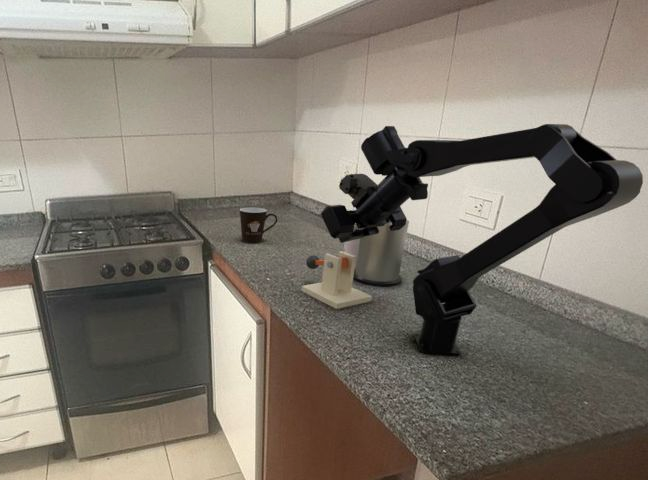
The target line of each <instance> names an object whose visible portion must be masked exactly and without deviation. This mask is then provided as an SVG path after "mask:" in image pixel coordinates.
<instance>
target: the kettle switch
mask: <svg viewBox="0 0 648 480" xmlns="http://www.w3.org/2000/svg"><path fill="white" fill-rule="evenodd" d="M339 258H342V263H341V269H345V268H348V259H347V257H339ZM305 264H306V266H307V268H308V269H311V270H315V269H318V268H319V266H324V259H320V258H319V256H317V255H314V254H313V255H310V256H308V257H307V258H306V262H305Z"/></svg>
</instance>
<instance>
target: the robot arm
mask: <svg viewBox="0 0 648 480" xmlns="http://www.w3.org/2000/svg"><path fill="white" fill-rule="evenodd" d="M360 149H361V151H362V153H363V156H364V157H365V160H366V161H367V163H368V164H369V165H368V166H369V167H370V168H371V170H372V172H373V174H374V175H381V176H382V177H384V178H383V179H382V180H381V181H380V182H379V183H378V184H377V183H376V182H375V181H374V180H373V179H371V177H369V176H368V175H367V174H366V173H365V174H364V173H349V174H346V175H344V177H342V178H341V179H340V181H339V185H338V188H339V190H340V191H341V192H343V193H344V195H348V196H349V197H350V198H351V199H352V201H351V202H350V203H351V205H352V207H353V208H355V210H354V209H349V210H348V209H347V207H346V206H345V205H343V204H333V205H326V206H325V207H324V208H323V209H322V210H321V212H320V216H321V218H322V220H323V222H324V225H325V227H326V230H327V231H328V233H329V235H330V237H331V238H333V239H338V241H339V243H340V244H344V242H348V241H352V240H355V239H359V238H363V237H367V236H370V235H374V234H378V233H379V230H378V228H377V227H379V226H384V225H385V224H386V223H388V222H389V219H390V221H391V223H392V225H391V226H390V227H389V229H390V231H395V230H400V229H401V228H402V227H404V226H405V225H406V220H408V219H407V216H406V214H405V212H404V210H403V209H402V207H401V206H402V205H403V204H404V203H405V202H407V201H408V200H409V199H410V200H411V201H420V200H427V199H428V196H429V191H428V187H429V184H428V183H424V182H423V181H422V179H421V178H426V177H427V178H428V177H440V176H444V175H446V174H450V173H453V172H457V171H459V170H461V169H463V168H466V167H470V166H473V165H474V166H475V165H482V164H483V165H484V164H491V163H499V162H507V161H508V162H509V161H516V160H517V161H518V160H526V159H533V158H535V159H536V160H537V161H538V162H539V163H540V165H541V167H542V168H543V170H544V172H545V174H546V176H547V177H548V179H549V180H550V181H552V183H554V185H553V186H552V187H551V188H550V189H549V190H548V192H547V193H546V194H545V196H544V197H543V199H542V200H541V201H540V203H539V204H538V205H537V206H536V207H535V208H533V209H532V210H530V211H529V212H527V213H526V214H524V215H522V216H521V217H519V218H517V219H516V220H515V221H514V222H512V223H510V224H509V225H507V226H505V227H504V228H502V229H501V230H500V231H498V232H497V233H495V234H493V235H492V236H491V237H489V238H487V239H486V240H485V241H483V242H482V243H480V244H478V245H477V246H475V247H474V248H472V249H471V250H470V251H468V252H466V253H465V254H463V255H462V256H460V255H459V254H454V255H451V256H444V257H440V258H439V257H438V258H435V259H434V260H433V261H431V262H430V263H429V264H428V265H427V266H426V267H425V268H423V269H419V270H416V271H417V273H418V274H417V276H416V277H414V279H413V281H412V293H413V300H414V309H415V314H416V315H417V316H420V317H421V318H422V326H421V329H420V333H414V334H413V340H414V342H415V343H416V345H417V347H418V349H419V351H420V352H421V353H422V354H423V353H424V354H436V355H448V356H461V354H462V352H461V350H460V348H459V347H458V346H457V345H456V340H457V337H458V333H459V329H460V325H461V321H462V317H464V316H470V315H472V314H473V312H474V311H475V309H476V308H477V303H476V302H475V300H474V298H473V296H472V294H471V292H470V290H471V289H472V288H473V287H474V286H475V284H476V283H477V281H478V280H479V279H480V278H481V277H482V276H484V275H486V274H487V273H489V272H491V271H492V270H494V269H496V268H498V267H499V266H502V265H503V264H505V263H506V262H508V261H510V260H511V259H513V258H515V257H517V256H518V255H520V254H521V253H523V252H526V251H527V250H528V249H531V248H532V247H534V246H535V245H537V244H538V243H540V242H542V241H544V240H546V239H547V238H549V237H551V236H552V235H554V234H556V233H557V232H559V231H560V230H563V229H564V228H566V227H569V226H572V225H575V224H577V223H580V222H583V221H586V220H589V219H591V218H595V217H597V216H600V215H602V214H605V213H608V212H611V211H612V210H613V211H614V210H615V209H619V208H621V207H623V206H625V205H627V204H630V203H631V202H632V201H633V200H635V199H636V198H637V197H638V196H639V194H641V190H642V186H643V183H644V175H643V173H642V171H641V169H640V167H638V166H637V165H636V164H635V163H633V162H631V161H628V160H622V159H621V160H620V159H616V158H615V157H614V156H613V155H612V154H611V153H610V152H608V151H607V150H605V149H604V148H602V147H600V146H598V145H597V144H595V143H593V142H592V141H590V140H589V139H587V138H585V137H584V136H583V135H581V133H579V132H578V131H577V130H576V129H575V128H574V126H572V125H569V124H566V123H545V124H542V125H539V126H537V127H533V128H532V127H531V128H527V129H521V130H515V131H509V132H503V133H498V134H492V135H486V136H481V137H475V138H474V137H473V138H467V139H462V140H455V139H453V140H452V139H416V140H414V141H412V142H410V143H408V146H407V147H406V146H405V145H404V144H403V141H402V139H401V137H400V136H399V134H398V130H397V129H396V127H395V125H385V126H384V127H383V128H382V129H381V130H378V131H376V132H374V133H372V134H371V135H370V136H368V137H366V138H365V139H364V140H363V141H362V143H361V145H360Z"/></svg>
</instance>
